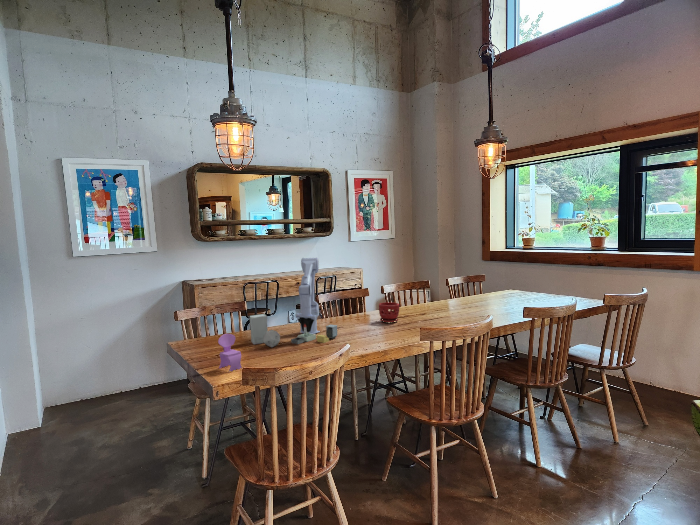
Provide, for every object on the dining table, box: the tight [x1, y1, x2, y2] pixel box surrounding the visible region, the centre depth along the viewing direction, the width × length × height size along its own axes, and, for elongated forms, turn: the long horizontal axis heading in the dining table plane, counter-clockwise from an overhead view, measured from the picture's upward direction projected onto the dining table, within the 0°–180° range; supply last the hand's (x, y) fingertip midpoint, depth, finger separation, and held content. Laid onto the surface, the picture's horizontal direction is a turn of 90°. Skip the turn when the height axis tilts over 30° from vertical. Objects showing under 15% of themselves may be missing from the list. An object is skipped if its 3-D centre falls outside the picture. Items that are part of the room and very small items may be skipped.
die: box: [263, 329, 281, 348], centre depth 218 cm, size 8×9×10 cm
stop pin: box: [303, 324, 309, 337], centre depth 229 cm, size 3×3×6 cm
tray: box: [297, 333, 317, 343], centre depth 229 cm, size 7×7×2 cm
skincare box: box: [249, 313, 269, 345], centre depth 226 cm, size 8×6×15 cm
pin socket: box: [290, 336, 306, 345], centre depth 224 cm, size 5×5×2 cm
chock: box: [316, 334, 330, 344], centre depth 225 cm, size 5×4×4 cm
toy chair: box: [217, 333, 243, 372], centre depth 183 cm, size 8×9×15 cm
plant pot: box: [378, 301, 400, 322], centre depth 268 cm, size 13×13×12 cm
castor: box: [325, 324, 338, 340], centre depth 231 cm, size 5×6×7 cm
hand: (306, 331), depth 229 cm, fingers closed on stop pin, 3 cm apart
